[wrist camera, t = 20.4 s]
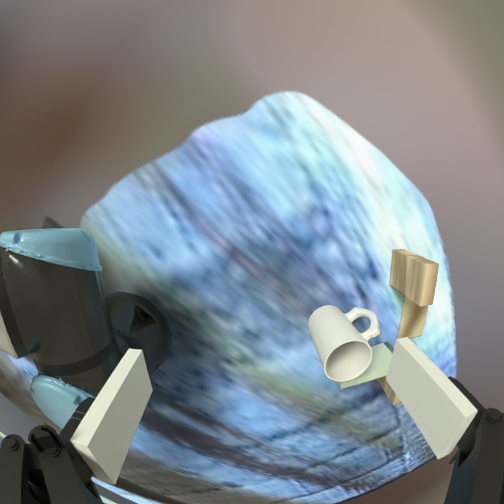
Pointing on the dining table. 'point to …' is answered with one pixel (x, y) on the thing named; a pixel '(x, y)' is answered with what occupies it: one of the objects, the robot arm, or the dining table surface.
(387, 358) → the gate door
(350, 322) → the mug
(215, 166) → the dining table surface
